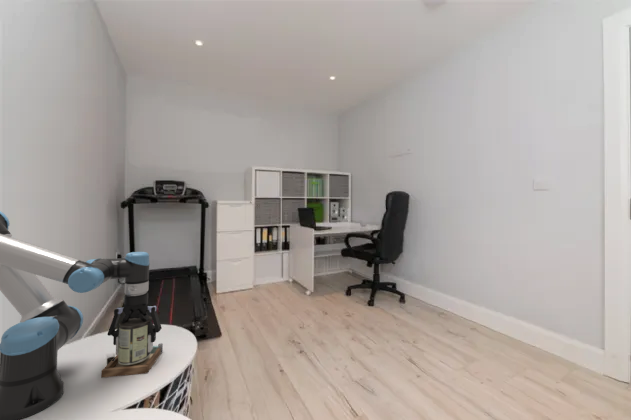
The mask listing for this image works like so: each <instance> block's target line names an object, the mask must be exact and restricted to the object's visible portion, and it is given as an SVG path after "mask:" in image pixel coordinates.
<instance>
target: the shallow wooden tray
mask: <svg viewBox="0 0 631 420" xmlns="http://www.w3.org/2000/svg"><path fill="white" fill-rule="evenodd" d="M161 354H162V353H161V348H158V349H157V350H156V351H155V353H150V356H149V357H148V358H147V359H145V360H144V361H142V362H139V363H136V364H133V365H120V364H119V363H118V355H115V357H114V358H115V361H112V360H111V361H110V362H108V363H107V365H106V366H104V368H102V369H101V373H100V374H101V376H100V378H101V379H103V378H111V377H113V378H114V377H122V376H131V375H132V376H134V375H142V374H148V373H149V372H150V370H151V369H152V367H154V365H155V363H156V362H157V360H158V359H159V357H160V356H161Z"/></svg>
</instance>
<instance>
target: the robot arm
mask: <svg viewBox="0 0 631 420" xmlns="http://www.w3.org/2000/svg"><path fill="white" fill-rule="evenodd" d="M9 227H10V221H9V218H8V217H7V215H6V214H5V213H4V212H2V211H1V210H0V292H1V293H2V294H3V295H4V297H5V298H6V299H7V301H9V303H10V304H11V305H12V306H13V307H14V309H15V310H16V311H17V313H19V315H21V318H20V321H19V322H18V323H16V324H13V325H12V326H10V327H9V328H7V329H6V330H5V331H4V332H3V334H2V335H1V339H0V420H16V419H19V420H21V419H25V418H27V417H30V416H33V415H35V414H38V413H39V412H41V411H43V410H45V409H46V408H47V409H48V408H49V407H50V406H52V405H53V404H54V403H56V402H57V401H58V400H59V399H60V398H61V397H62V396H63V394H64V391H65V383H64V381H63V380H62V377H61V374H60V373H59V370H58V351H59V350H60V349H61V348H62V347H63V346H64V345H65V344H66V343H68V342H69V341H70V340H72V339H73V338H74V337H75V336H76V335H77V333H78V332H79V331H80V330H81V328H82V326H83V325H84V324H83V323H84V315H83V313H82V311H81V310H80V309H79V308H78V307H76V306H74V305H73V306H72V305H68V304H67V303H66V302H65V300H64V299H63V298H62V299H60V298H55V297H54V296H53V294H51V292H50V291H49V290H48V288H47V287H46V286H45V284H43V282H42V281H41V279H39V277H42V278H46V279H49V280H53V281H56V282H59V283H62V284H63V283H64V284H67V285H68V287H69V288H70V289H71V290H72V291H73V292H75V293H79V294H86V293H88V292H91V291H93V290H95V289H97V288H99V287H100V286H102V284H104V283H105V282H107V281H109V280H117V279H119V280H121V279H122V280H123V279H124V294H125V295H124V297H123V298H124V299H123V301H124V302H123V304H124V305H123V307H121V306H118V307H117V308H115V309H114V310H113V317H112V320H111V323H110V326H109V329H108V332H107V336H110V337H111V336H112V337H113V346H115V356H117V355H118V350H119V326H118V324H119V322H121V321H122V320H123V321H122V322H121V323H126V322H127V321H128V320H129V319H133V318H140V319H141V320H142V321H143V322H146V321H148V320H149V317H148V316H149V314H148V312H149V313H150V317H151V318H152V320H151V322H150V323H148V330H149V332H150V334H149V335H148V352H151V350H152V349H153V346H154V343H155V342H156V339H157V333H160V331H161V330H162V324H161V321H160V318H159V314H158V305H153V306H151V305H150V306H149V292H148V291H149V285H150V281H149V279H150V265H151V264H150V255H149V253H148V252H146V251H132V252H128V253H126V254H125V257H121V258H94V259H88V260H86V261H83V260H80V259H78V258H74V257H71V256H68V255H65V254H63V253H59V252H56V251H54V250H50V249H47V248H45V247H42V246H38V245H35V244H33V243H29V242H26V241H23V240H20V239H18V238H14V237H12V236H13V235H12V234H11V232H10V231H9ZM38 276H39V277H38ZM122 313H124V314H125V316H124V317H123V319H122V320H121V321H119V320H120V318H121V314H122ZM117 326H118V327H117Z"/></svg>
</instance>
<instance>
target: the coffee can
mask: <svg viewBox="0 0 631 420" xmlns="http://www.w3.org/2000/svg"><path fill="white" fill-rule="evenodd" d="M148 317H149V320H148V321H146V322H143V321H142V320H141V319H140V318H133V319H129V320H128V321H127V322H126V323H121V322H122V321H123V319H122V320H120V321H119V322H118V327H119V350H118V363H119V364H120V365H133V364H136V363H139V362H142V361H144V360H145V359H147V358H148V357H149V356H150V354H151V353H150V352H148V335H149V334H150V332H149V330H148V323H150V322H152V321H153V320H152V317H151V315H148Z"/></svg>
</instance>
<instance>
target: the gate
mask: <svg viewBox="0 0 631 420" xmlns="http://www.w3.org/2000/svg"><path fill="white" fill-rule="evenodd" d="M163 345H164V344H163V343H158V345H153V349H152V350H151V352H150V354H154V353H155V351H156V350H157V349H158V348H161V354H162V353H163Z"/></svg>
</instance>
